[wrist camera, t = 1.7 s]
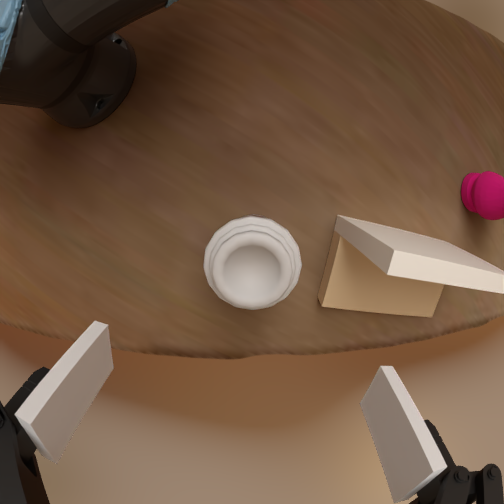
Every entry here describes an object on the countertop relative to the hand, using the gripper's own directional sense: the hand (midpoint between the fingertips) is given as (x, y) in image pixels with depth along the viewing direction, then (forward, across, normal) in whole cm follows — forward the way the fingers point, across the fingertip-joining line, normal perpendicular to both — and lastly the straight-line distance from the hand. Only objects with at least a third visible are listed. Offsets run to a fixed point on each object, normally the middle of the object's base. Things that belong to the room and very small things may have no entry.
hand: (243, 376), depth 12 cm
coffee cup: (+25, 0, 0) cm, 25 cm away
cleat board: (+25, +20, 0) cm, 31 cm away
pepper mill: (+25, +33, +14) cm, 44 cm away
